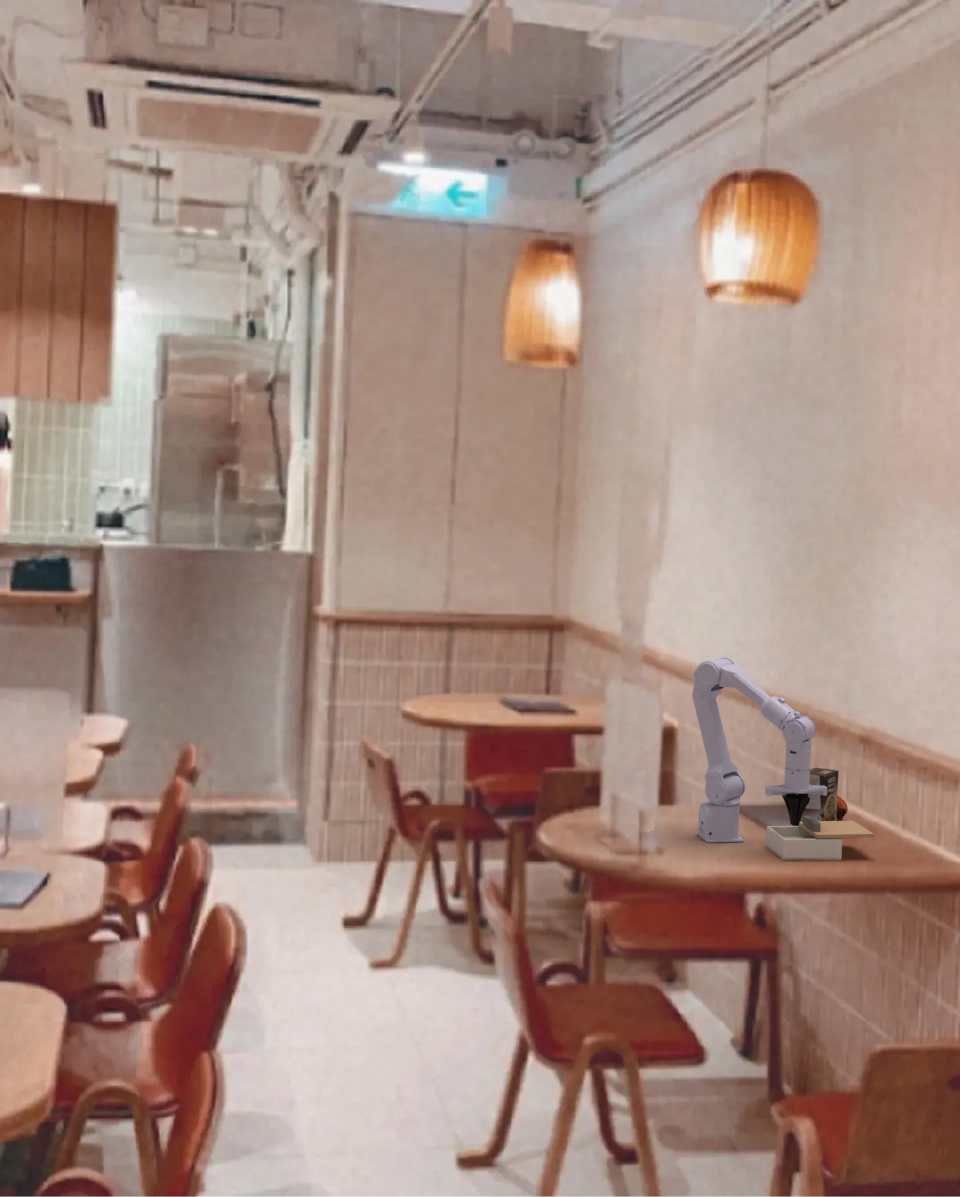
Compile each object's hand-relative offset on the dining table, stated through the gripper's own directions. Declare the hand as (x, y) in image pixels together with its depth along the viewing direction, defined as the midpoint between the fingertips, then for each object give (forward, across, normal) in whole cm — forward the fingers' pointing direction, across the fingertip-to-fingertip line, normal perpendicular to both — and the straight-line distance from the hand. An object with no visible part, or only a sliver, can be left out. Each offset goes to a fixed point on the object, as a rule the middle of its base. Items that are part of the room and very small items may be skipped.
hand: (794, 824), depth 324 cm
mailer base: (+7, +2, 0) cm, 7 cm away
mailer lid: (+1, +10, 0) cm, 10 cm away
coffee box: (+7, +12, +16) cm, 21 cm away
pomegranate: (+7, +22, +28) cm, 36 cm away
